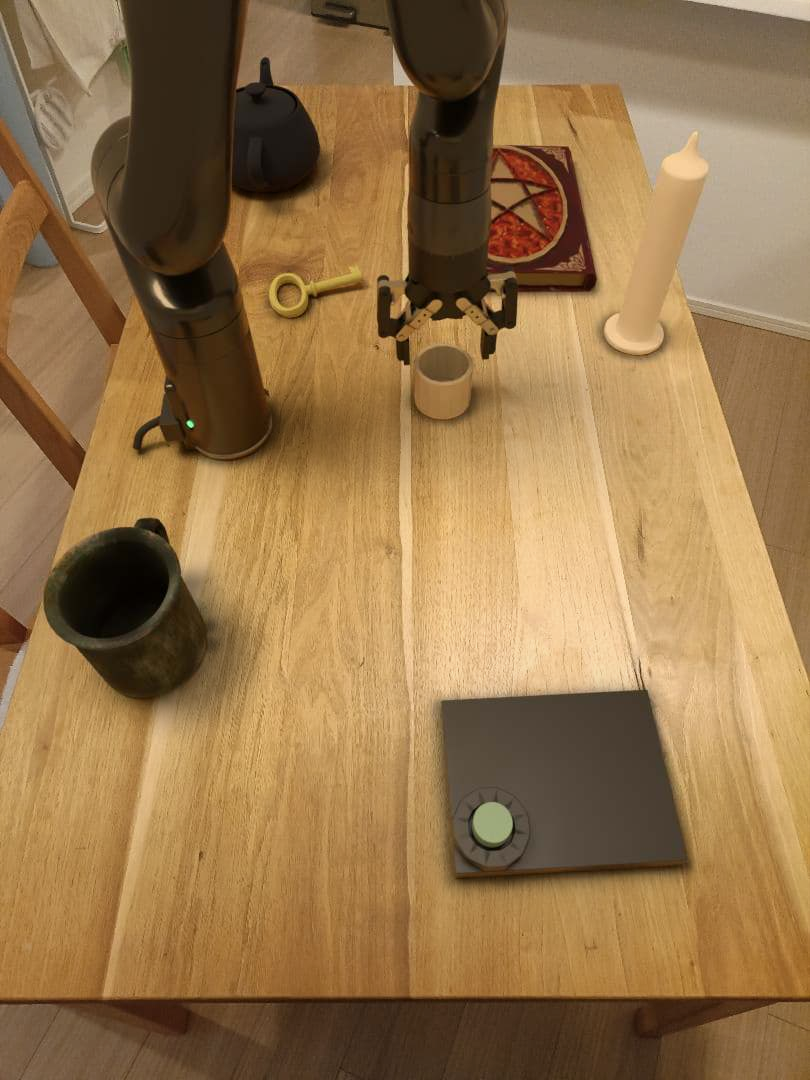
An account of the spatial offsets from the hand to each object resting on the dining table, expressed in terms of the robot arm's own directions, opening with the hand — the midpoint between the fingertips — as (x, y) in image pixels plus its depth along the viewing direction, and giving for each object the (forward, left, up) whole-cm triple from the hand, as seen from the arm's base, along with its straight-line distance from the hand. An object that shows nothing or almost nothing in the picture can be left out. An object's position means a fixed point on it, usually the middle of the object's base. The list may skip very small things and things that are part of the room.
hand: (445, 357), depth 84 cm
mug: (-29, -29, -6) cm, 41 cm away
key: (-15, +18, -6) cm, 25 cm away
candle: (+24, +8, -6) cm, 26 cm away
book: (+11, +31, -6) cm, 34 cm away
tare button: (0, -49, -3) cm, 49 cm away
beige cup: (0, -1, -6) cm, 6 cm away
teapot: (-22, +47, -6) cm, 52 cm away
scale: (+6, -45, -6) cm, 45 cm away
